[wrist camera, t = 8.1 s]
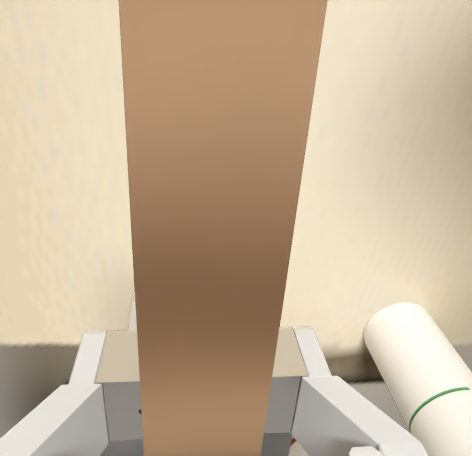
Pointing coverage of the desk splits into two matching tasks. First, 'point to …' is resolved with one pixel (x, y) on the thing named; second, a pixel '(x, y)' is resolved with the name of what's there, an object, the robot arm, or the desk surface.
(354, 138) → the desk surface
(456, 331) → the desk surface
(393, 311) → the cylindrical container
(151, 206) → the turner
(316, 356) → the robot arm
